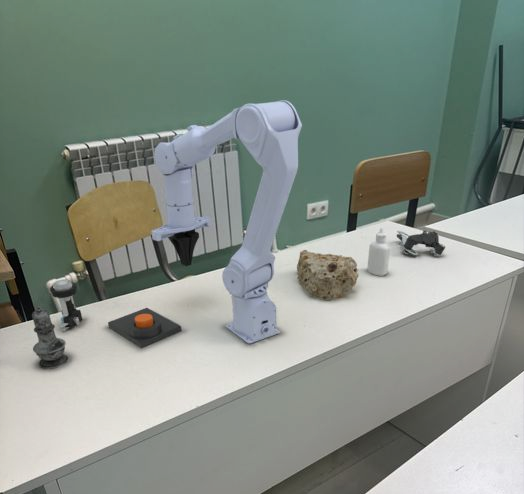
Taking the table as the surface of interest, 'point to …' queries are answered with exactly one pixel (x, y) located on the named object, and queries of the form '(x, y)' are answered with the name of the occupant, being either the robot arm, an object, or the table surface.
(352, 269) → the rock
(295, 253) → the table surface
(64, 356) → the grey tiered figurine
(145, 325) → the round orange button cap
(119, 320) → the orange button switch
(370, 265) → the eye dropper bottle
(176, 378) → the table surface
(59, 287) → the white black upright piece
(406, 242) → the bicycle component
